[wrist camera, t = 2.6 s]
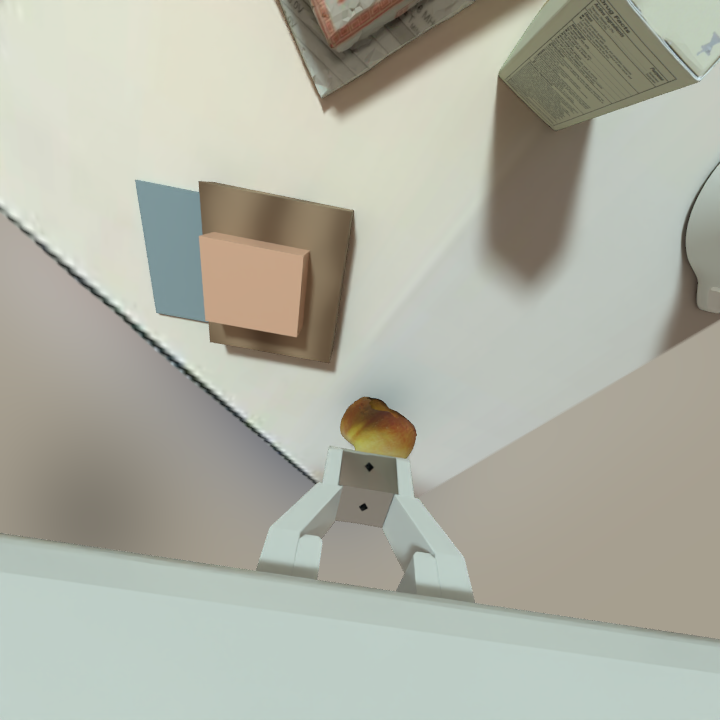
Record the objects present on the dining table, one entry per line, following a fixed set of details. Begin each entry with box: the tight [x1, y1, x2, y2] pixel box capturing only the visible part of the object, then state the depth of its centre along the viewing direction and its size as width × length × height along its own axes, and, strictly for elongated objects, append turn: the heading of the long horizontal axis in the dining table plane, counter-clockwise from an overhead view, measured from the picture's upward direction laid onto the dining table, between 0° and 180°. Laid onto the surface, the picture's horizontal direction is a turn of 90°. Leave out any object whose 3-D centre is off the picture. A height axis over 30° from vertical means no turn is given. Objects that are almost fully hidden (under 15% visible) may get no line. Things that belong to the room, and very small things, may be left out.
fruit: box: [340, 397, 417, 459], centre depth 33 cm, size 8×8×8 cm
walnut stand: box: [199, 181, 354, 363], centre depth 28 cm, size 12×14×2 cm
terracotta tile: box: [199, 232, 310, 337], centre depth 26 cm, size 8×7×2 cm
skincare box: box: [499, 0, 720, 131], centre depth 16 cm, size 6×4×12 cm
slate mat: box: [135, 180, 209, 322], centre depth 29 cm, size 8×12×1 cm, turn 170°
